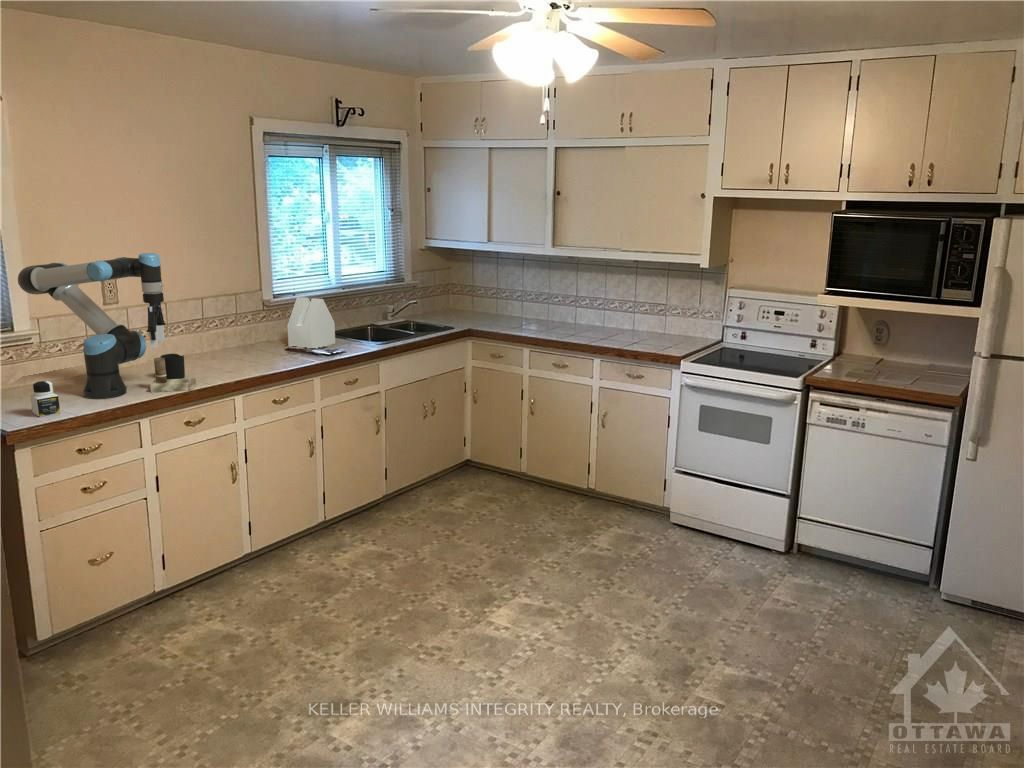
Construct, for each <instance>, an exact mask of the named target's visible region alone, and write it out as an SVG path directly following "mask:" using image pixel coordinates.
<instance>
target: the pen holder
mask: <svg viewBox="0 0 1024 768" xmlns="http://www.w3.org/2000/svg"><path fill="white" fill-rule="evenodd" d="M159 358H165V368H166V375H167V376H166V378H167V379H182V378H183V379H185V377H186V372H185V370H186V369H185V355H181V354H179V353H166V354H162V355H160V357H159Z"/></svg>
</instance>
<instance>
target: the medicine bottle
mask: <svg viewBox="0 0 1024 768" xmlns="http://www.w3.org/2000/svg"><path fill="white" fill-rule="evenodd" d="M32 388H33V394H31V395H30V396H29V397H30V403H31V408H32V409H31V410H32V414H33V413H34V414H33V415H35V416H37V417H38V416H39V418H41V417H40V416H44V417H47V416H46V415H49V416H53V415H52V414H55V415H58V414H57V413H60V414H61V407H60V399H59V395H58V394H56V393H55V392H54V387H53V382H51V381H50V380H49V381H48V380H42V381H41V380H40V381H36V382H35V383H33V384H32Z"/></svg>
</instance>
